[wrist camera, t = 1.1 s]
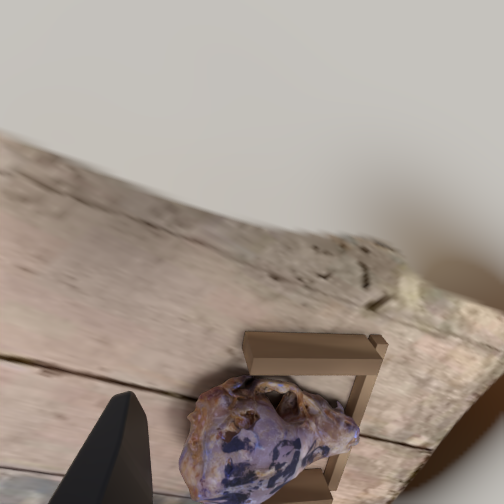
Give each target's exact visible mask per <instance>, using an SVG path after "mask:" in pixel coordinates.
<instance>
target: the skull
mask: <svg viewBox="0 0 504 504" xmlns="http://www.w3.org/2000/svg"><path fill="white" fill-rule="evenodd" d="M273 390H275V391H276V392H277V393H280V394H282V393H285V394H284V395H283V398H282V400H281V401H280V403H279V405H278V406H277V408H276V409H274V407H273V405H272V404H271V403H270V400H269V399H268V398H267V396H266V395H265V392H271V391H273ZM287 391H289V392H287ZM286 392H287V393H286ZM336 402H337V405H338V407H337V408H335V409H334V408H332V407H331V406H330V405H329V403H328V402H327V401H326V400H325V399H324V398H323V397H321V396H320V395H318V394H316V395H314V394H310V393H308V392H307V391H301V390H300V388H299V387H298V386H297V385H296V384H294V383H292V382H283V381H280V380H272V379H266V378H261V379H256V378H255V377H254V376H252V375H242V376H239V377H232V378H230V379H228V380H227V381H226V382H225V383H223V384H221V385H219V386H216V387H213V388H211V389H210V390H208V391H206V392H203V393H202V394H200V396H199V399H198V401H197V402H196V408H195V410H194V411H193V412H192V413H190V414H189V415H188V416H187V418H188V420H189V421H190V423H191V427H190V433H189V435H188V437H187V439H186V442H185V445H184V448H183V450H182V453H181V456H180V458H179V470H180V472H181V475H182V477H183V479H184V481H185V483H186V484H187V486H188V488H189V491H190V496H191V499H192V500H193V501H198V502H202V503H205V504H261V503H262V502H264V501H265V500H267V499H269V498H270V497H271V496H272V495H274V494H275V493H276V492H277V491H278V490H279V489H281V488H282V487H283V486H284V485H285V484H287V483H288V482H289V481H291V480H292V479H294V478H295V477H296V476H297V475H298V474H299V473H300V472H302V471H303V470H304V468H305V467H306V466H307V465H309V464H311V463H312V462H314V461H317V460H319V459H321V458H325V457H329V456H334V455H337V454H342V453H347V452H349V450H350V448H351V447H352V446H355V445H357V443H358V442H359V434H360V429H359V427H358V426H357V424H356V423H355V421H354V420H353V418H352V417H349V416H347V415H345V413H344V409H343V408H342V405H341V404H340V402H338V401H336Z"/></svg>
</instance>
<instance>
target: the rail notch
mask: <svg viewBox="0 0 504 504" xmlns="http://www.w3.org/2000/svg"><path fill="white" fill-rule="evenodd" d="M388 345H389V344H388V343H387V342H386V341H385V339H384V338H383V337H382V336H381V335H370V337H369V340H368V339H367V337H366V336H365V335H354V334H318V333H282V332H246V331H245V335H244V341H243V346H242V349H243V353H244V356H245V360H246V363H247V366H248V370H249V373H250V375H357V376H356V379H355V382H354V385H353V388H352V391H351V394H350V397H349V400H348V403H347V406H346V409H345V412H344V413H345V415H347V416H349V417H352V418H353V420H354V421H355V423H356V424H357V426H358V427H359V426H360V423H361V420H362V417H363V415H364V412H365V409H366V406H367V403H368V401H369V398H370V395H371V392H372V389H373V387H374V384H375V381H376V378H377V375H378V373H379V370H380V367H381V364H382V361H383V359H384V356H385V353H386V350H387V347H388ZM351 448H352V447H351ZM351 448H350V450H349V452H347V453H342V454H337V455H334V456H330V457H329V460H328V463H327V466H326V469H325V472H324V475H323V473H322V470H321V469H307V470H303V471H302V472H300V473H299V474H298V475H297V476H296V477H295V478H294V479H292V480H291V481H289V482H288V483H287V484H285V485H284V486H283V487H282V488H281V489H279V490H278V491H277V492H276V493H275V494H274V495H272V496H271V497H270V498H269V499H267V500H265V501H264V502H262V503H261V504H332V501H333V498H332V495H331V493H330V491H336V490H337V488H338V485H339V482H340V479H341V476H342V474H343V471H344V468H345V465H346V462H347V460H348V457H349V454H350V451H351Z"/></svg>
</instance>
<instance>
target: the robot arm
mask: <svg viewBox="0 0 504 504" xmlns="http://www.w3.org/2000/svg"><path fill="white" fill-rule="evenodd" d="M48 504H153V488H152V473H151V461H150V448H149V435H148V423H147V417H146V414H145V412H144V410H143V408H142V406H141V405H140V403H139V401H138V399H137V397H136V395H135V394H134V393H133V392H132V391H127V392H124V393H120V394H116V395H114V396H113V397H112V398H111V400H110V401H109V403H108V405H107V406H106V408H105V410H104V411H103V413H102V415H101V416H100V418H99V420H98V421H97V423H96V424H95V426H94V428H93V429H92V431H91V433H90V434H89V436H88V438H87V439H86V441H85V443H84V444H83V446H82V448H81V449H80V451H79V453H78V454H77V456H76V458H75V459H74V461H73V463H72V464H71V466H70V468H69V469H68V471H67V473H66V474H65V476H64V478H63V479H62V481H61V483H60V484H59V486H58V488H57V489H56V491H55V493H54V494H53V496H52V498H51V499H50V501H49V503H48Z"/></svg>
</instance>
